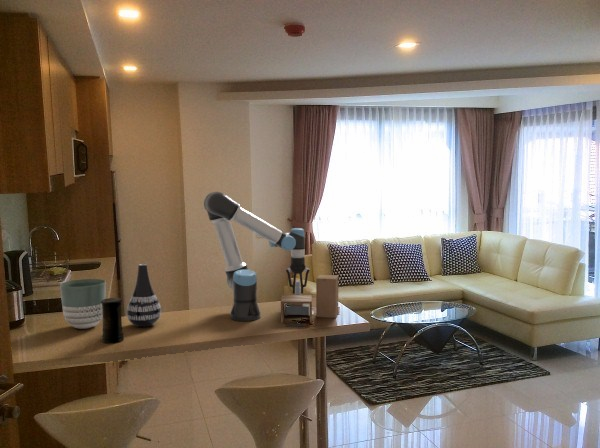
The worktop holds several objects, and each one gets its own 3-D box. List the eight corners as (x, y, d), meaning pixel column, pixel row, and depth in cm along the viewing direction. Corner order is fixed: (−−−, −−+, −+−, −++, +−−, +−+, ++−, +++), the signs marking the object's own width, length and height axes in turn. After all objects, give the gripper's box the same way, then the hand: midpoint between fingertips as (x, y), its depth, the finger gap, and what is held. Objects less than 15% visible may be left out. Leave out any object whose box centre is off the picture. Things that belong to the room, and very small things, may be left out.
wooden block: (335, 318, 258) (335, 278, 256) (316, 317, 260) (316, 278, 258) (338, 313, 268) (338, 275, 266) (319, 312, 270) (319, 274, 268)
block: (303, 315, 265) (303, 300, 265) (291, 315, 265) (291, 300, 265) (303, 312, 271) (303, 298, 271) (291, 312, 271) (291, 298, 271)
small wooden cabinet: (308, 315, 263) (308, 289, 261) (285, 315, 263) (285, 289, 262) (309, 304, 285) (308, 280, 284) (287, 304, 286) (287, 280, 285)
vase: (168, 323, 251) (167, 263, 248) (146, 332, 236) (144, 268, 234) (143, 319, 257) (141, 261, 255) (119, 328, 243) (117, 266, 241)
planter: (116, 323, 251) (114, 280, 249) (87, 335, 232) (85, 288, 230) (83, 320, 257) (81, 277, 255) (52, 331, 238) (50, 285, 237)
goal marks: (313, 314, 265) (313, 314, 265) (280, 314, 265) (280, 314, 265) (313, 310, 273) (313, 310, 273) (281, 310, 273) (281, 310, 273)
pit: (306, 326, 244) (306, 326, 244) (285, 326, 244) (285, 326, 244) (306, 323, 249) (306, 323, 249) (286, 323, 249) (286, 323, 249)
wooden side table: (311, 322, 250) (311, 301, 249) (280, 322, 250) (280, 301, 250) (311, 315, 264) (311, 295, 263) (282, 315, 264) (282, 295, 264)
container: (105, 337, 228) (103, 297, 227) (125, 337, 229) (124, 297, 227) (98, 344, 219) (97, 302, 218) (120, 343, 220) (119, 301, 218)
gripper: (283, 257, 277) (284, 300, 279) (311, 257, 277) (311, 300, 279) (284, 255, 285) (284, 297, 287) (311, 255, 284) (311, 297, 286)
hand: (298, 299), depth 283 cm, fingers closed on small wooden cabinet, 2 cm apart
